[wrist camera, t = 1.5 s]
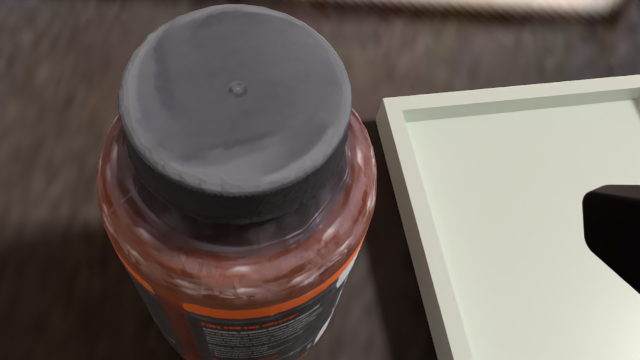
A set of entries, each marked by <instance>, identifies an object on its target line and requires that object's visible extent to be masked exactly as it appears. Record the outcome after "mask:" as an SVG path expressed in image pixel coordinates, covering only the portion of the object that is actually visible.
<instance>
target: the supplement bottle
mask: <svg viewBox="0 0 640 360" xmlns="http://www.w3.org/2000/svg"><path fill="white" fill-rule="evenodd" d="M118 110H119V114H118V116H117V117H116V118H115V120H114V121H113V122H112V125H111V127H110V129H109V131H108V133H107V136H106V138H105V141H104V144H103V147H102V149H101V152H100V156H99V162H98V172H97V195H98V202H99V207H100V211H101V216H102V220H103V223H104V227H105V229H106V231H107V234H108V236H109V238H110V240H111V242H112V244H113V246H114V248H115V250H116V252H117V254H118V256H119V258H120V260H121V262H122V263H123V265H124V267H125V269H126V271H127V272H128V274H129V276H130V277H131V280H132V282H133V284H134V285H135V287H136V289H137V291H138V293H139V294H140V296H141V298H142V299H143V301H144V303H145V304H146V306H147V309H148V310H149V312H150V314H151V315H152V317H153V319H154V320H155V322H156V324H157V326H158V327H159V329H160V331H161V333H162V334H163V336H164V337H165V339H166V340H167V342H168V343H169V344H170V345H171V346H172V347H173V348H174V349H175V350H176V351H177V352H178V353H179V354H180V355H181V356H182V357H183V358H184V359H186V360H299V359H300V358H301V357H303V356H304V355H305V354H306V353H307V352H308V351H309V349H310V348H311V347H312V346H313V345H314V344H315V343H316V341H317V340H318V339H319V337H320V336H321V334H322V333H323V332H324V330H325V328H326V326H327V324H328V322H329V320H330V318H331V316H332V313H333V311H334V309H335V307H336V304H337V302H338V299H339V297H340V295H341V292H342V290H343V287H344V285H345V283H346V280H347V277H348V275H349V273H350V271H351V268H352V267H353V264H354V261H355V259H356V256H357V254H358V252H359V249H360V247H361V244H362V242H363V239H364V237H365V234H366V232H367V230H368V227H369V224H370V221H371V218H372V215H373V212H374V207H375V201H376V193H377V166H376V161H375V154H374V151H373V146H372V144H371V141H370V138H369V135H368V132H367V129H366V128H365V126H364V125H363V124H362V122H361V120H360V118H359V116H358V114H357V113H356V112H355V111H354V110H353V108H352V92H351V86H350V83H349V78H348V74H347V72H346V70H345V67H344V65H343V63H342V61H341V59H340V58H339V56H338V54H337V52H336V51H335V50H334V49H333V48H332V46H331V45H330V44H329V43H328V42H327V41H326V40H325V39H324V38H323V37H322V36H321V35H320V34H318V33H317V32H316V31H315V30H314V29H312V28H311V27H309V26H308V25H307V24H305V23H304V22H302V21H300V20H298V19H295V18H293V17H291V16H289V15H287V14H284V13H282V12H279V11H275V10H271V9H268V8H265V7H260V6H250V5H242V4H224V5H217V6H211V7H207V8H204V9H200V10H196V11H192V12H189V13H187V14H185V15H179V16H177V17H175V18H174V19H173V20H171V21H170V22H167V23H166V24H164V25H162V26H160V27H159V28H157V29H156V30H155V31H153V32H152V33H151V34H149V35H148V36H147V37H146V39H145V40H144V41H143V42H142V43H141V44H140V45H139V47H138V48H137V49H136V50H135V51H134V52H133V54H132V56H131V58H130V60H129V62H128V64H127V65H126V67H125V69H124V71H123V73H122V78H121V84H120V88H119V93H118Z"/></svg>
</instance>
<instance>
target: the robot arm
mask: <svg viewBox="0 0 640 360" xmlns="http://www.w3.org/2000/svg"><path fill="white" fill-rule="evenodd" d="M582 213H583V230H584V239H585V242H586V245H587V246H588V248H589V249H590V251H591V252H592V253H593V254H594V255H596V256H597V257H598V258H599V259H600V260H601V261H602V262H604V263H605V264H606V265H607V266H608V267H609V268H610V269H611V270H613V271H614V272H615V273H616V274H617V275H618V276H619V277H621V278H622V279H623V280H624V281H625V282H626V283H627V284H629V285H630V286H631V287H632V288H633V289H634V290H635V291H636V292H638V293H639V294H640V185H613V184H609V185H603V186H601V187H598V188H596V189H594V190H591V191H589V192H587V193H586V194H585V195H584V197H583V200H582Z"/></svg>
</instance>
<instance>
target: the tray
mask: <svg viewBox="0 0 640 360" xmlns="http://www.w3.org/2000/svg"><path fill="white" fill-rule="evenodd" d="M376 124H377V128H378V132H379V135H380V139H381V143H382V147H383V151H384V155H385V158H386V162H387V166H388V170H389V174H390V178H391V182H392V185H393V189H394V193H395V197H396V201H397V205H398V208H399V212H400V216H401V220H402V224H403V228H404V232H405V235H406V239H407V243H408V247H409V251H410V255H411V258H412V262H413V266H414V270H415V274H416V278H417V282H418V285H419V289H420V293H421V297H422V301H423V305H424V308H425V312H426V316H427V320H428V324H429V328H430V332H431V335H432V339H433V343H434V347H435V351H436V355H437V358H438V360H640V294H639V293H638V292H636V291H635V290H634V289H633V288H632V287H631V286H630V285H629V284H627V283H626V282H625V281H624V280H623V279H622V278H621V277H619V276H618V275H617V274H616V273H615V272H614V271H613V270H611V269H610V268H609V267H608V266H607V265H606V264H605V263H604V262H602V261H601V260H600V259H599V258H598V257H597V256H596V255H594V254H593V253H592V252H591V251H590V249H589V248H588V246H587V245H586V242H585V239H584V230H583V213H582V200H583V197H584V195H585V194H586V193H587V192H589V191H591V190H594V189H596V188H598V187H601V186H603V185H609V184H613V185H640V75H631V76H620V77H609V78H598V79H587V80H577V81H566V82H555V83H544V84H533V85H522V86H511V87H501V88H490V89H479V90H468V91H457V92H446V93H435V94H425V95H414V96H403V97H392V98H383V100H382V103H381V106H380V109H379V112H378V115H377V117H376Z"/></svg>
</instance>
